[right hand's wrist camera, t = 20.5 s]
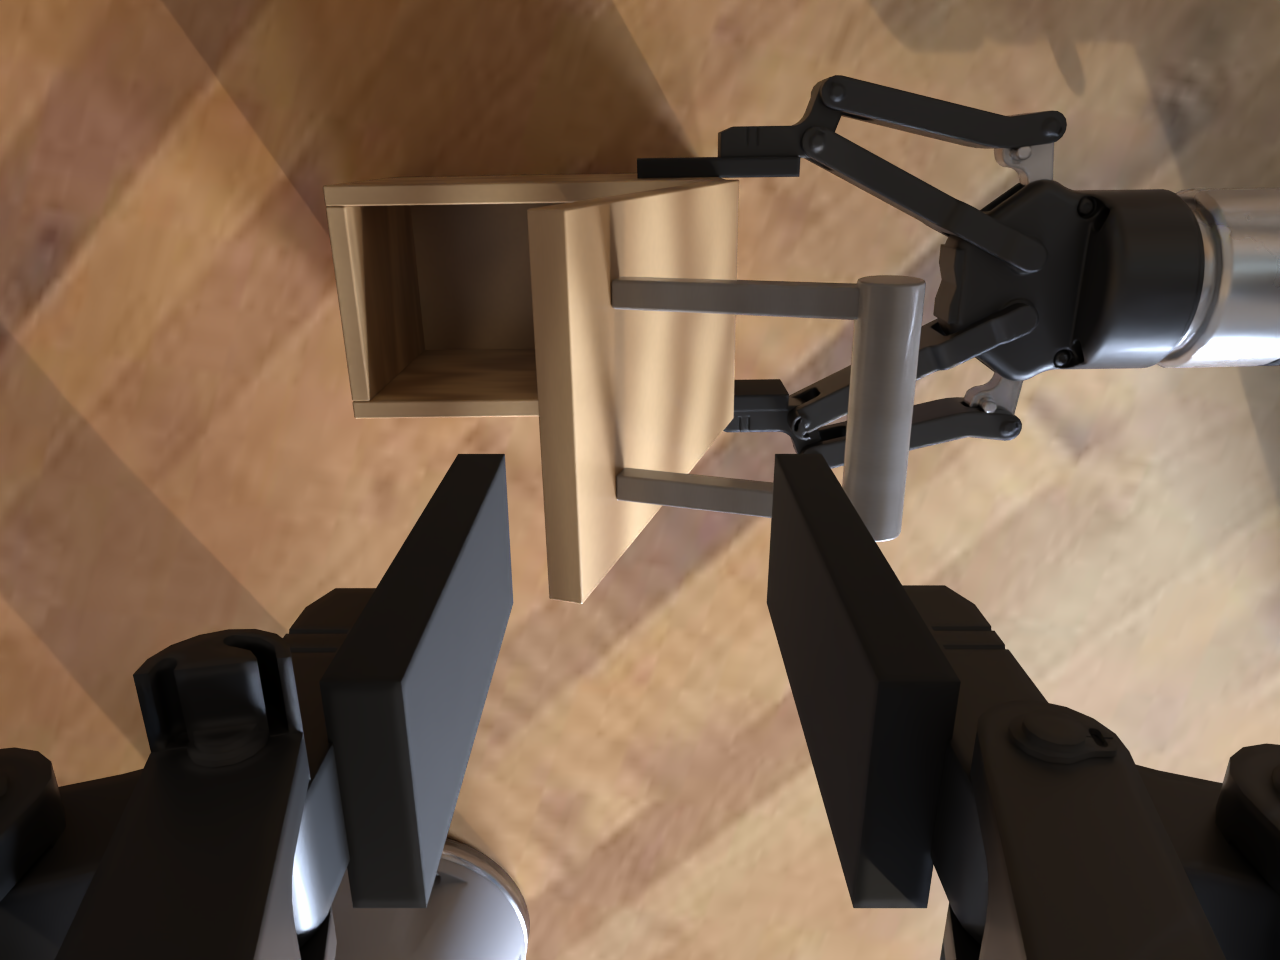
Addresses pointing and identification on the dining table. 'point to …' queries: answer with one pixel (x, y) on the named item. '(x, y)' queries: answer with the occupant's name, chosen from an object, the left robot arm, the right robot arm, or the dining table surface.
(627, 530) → the lid
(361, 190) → the chest
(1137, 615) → the dining table surface
